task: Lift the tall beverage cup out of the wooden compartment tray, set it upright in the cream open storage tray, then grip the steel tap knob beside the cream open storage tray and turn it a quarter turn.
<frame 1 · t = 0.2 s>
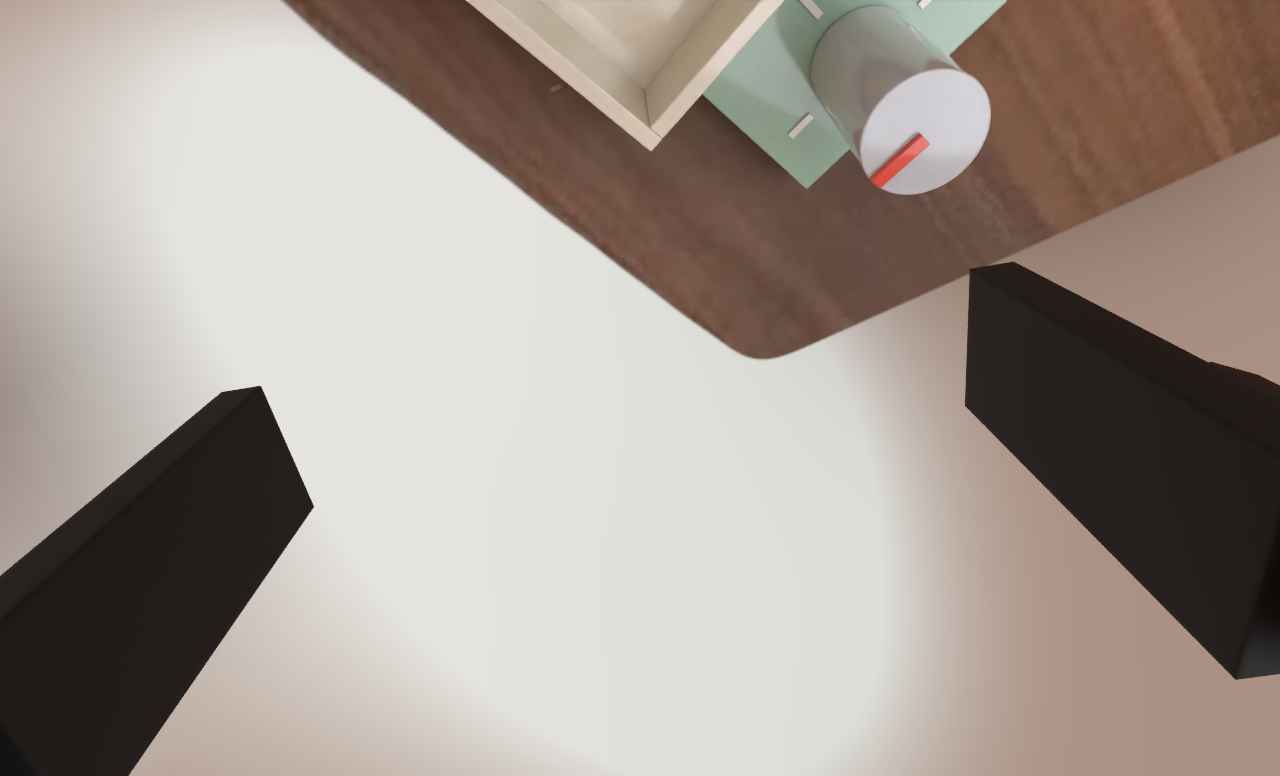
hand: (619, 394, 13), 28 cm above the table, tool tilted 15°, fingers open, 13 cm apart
green dial base plate: (836, 32, 35), on the table
tap knob: (891, 97, 30), point 7 cm above the table, hinge at 0.0°
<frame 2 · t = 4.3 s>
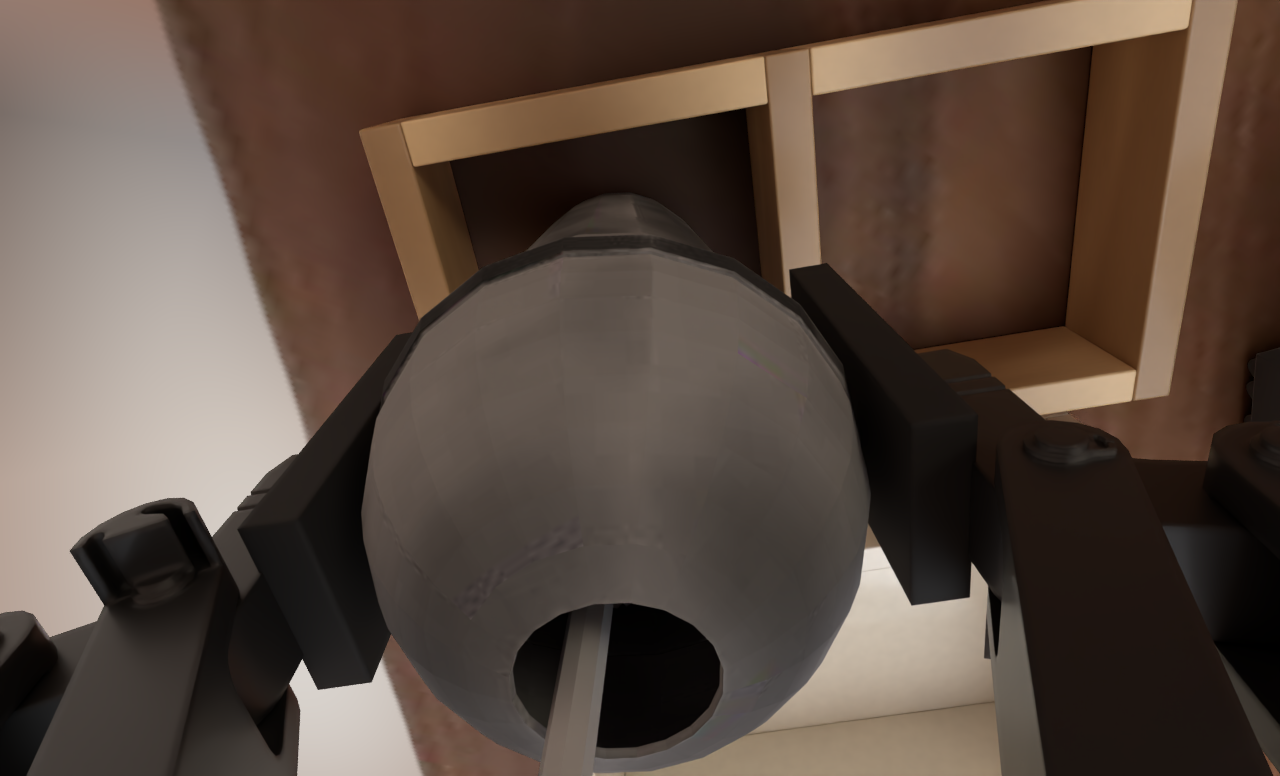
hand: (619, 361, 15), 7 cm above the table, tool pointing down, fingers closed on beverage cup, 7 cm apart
beverage cup: (620, 267, 21), resting in wooden compartment tray, touching gripper
wooden compartment tray: (775, 243, 21), on the table
cream open storage tray: (805, 597, 27), on the table
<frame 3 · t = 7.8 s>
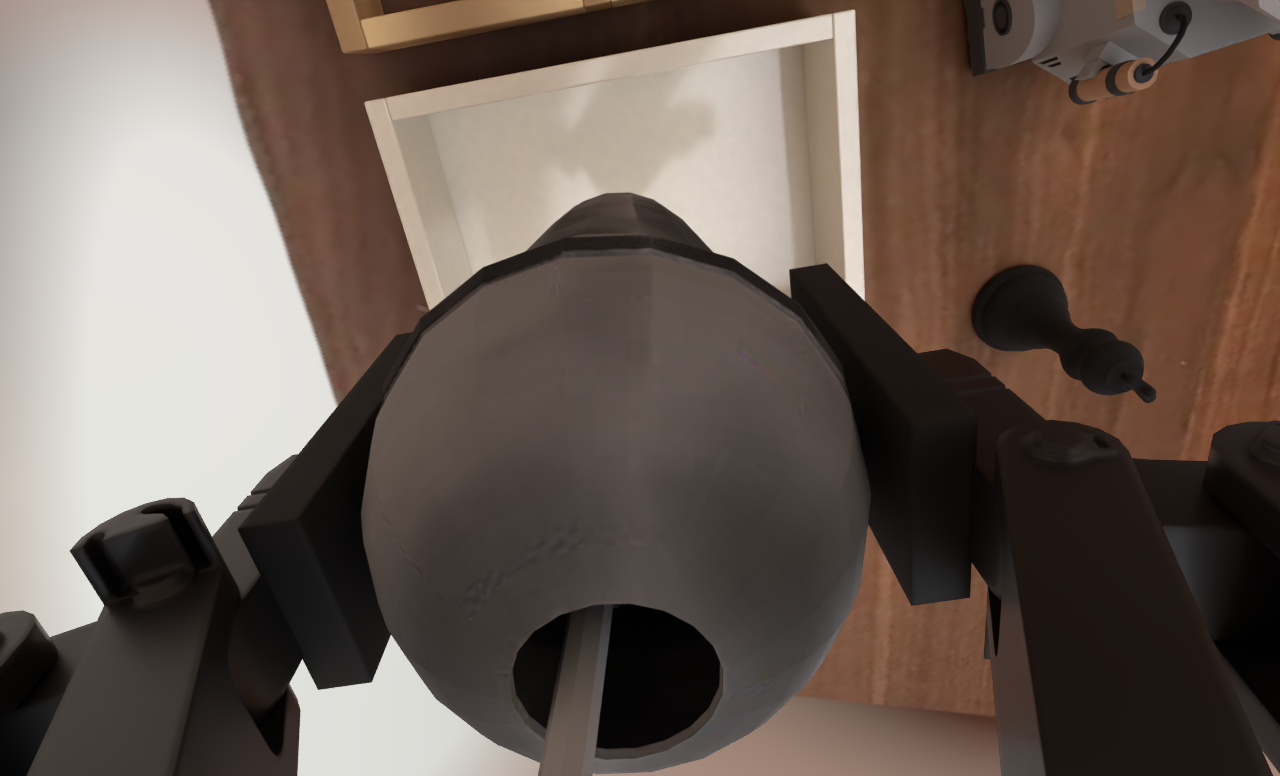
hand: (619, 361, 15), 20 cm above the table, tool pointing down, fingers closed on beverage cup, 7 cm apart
chess piece: (1014, 306, 35), on the table
beverage cup: (620, 267, 21), point 12 cm above the table, touching gripper
cream open storage tray: (635, 215, 33), on the table
when the fingers open (8 cm above the table, at t = 11.3 s): beverage cup stays where it is, resting on cream open storage tray.
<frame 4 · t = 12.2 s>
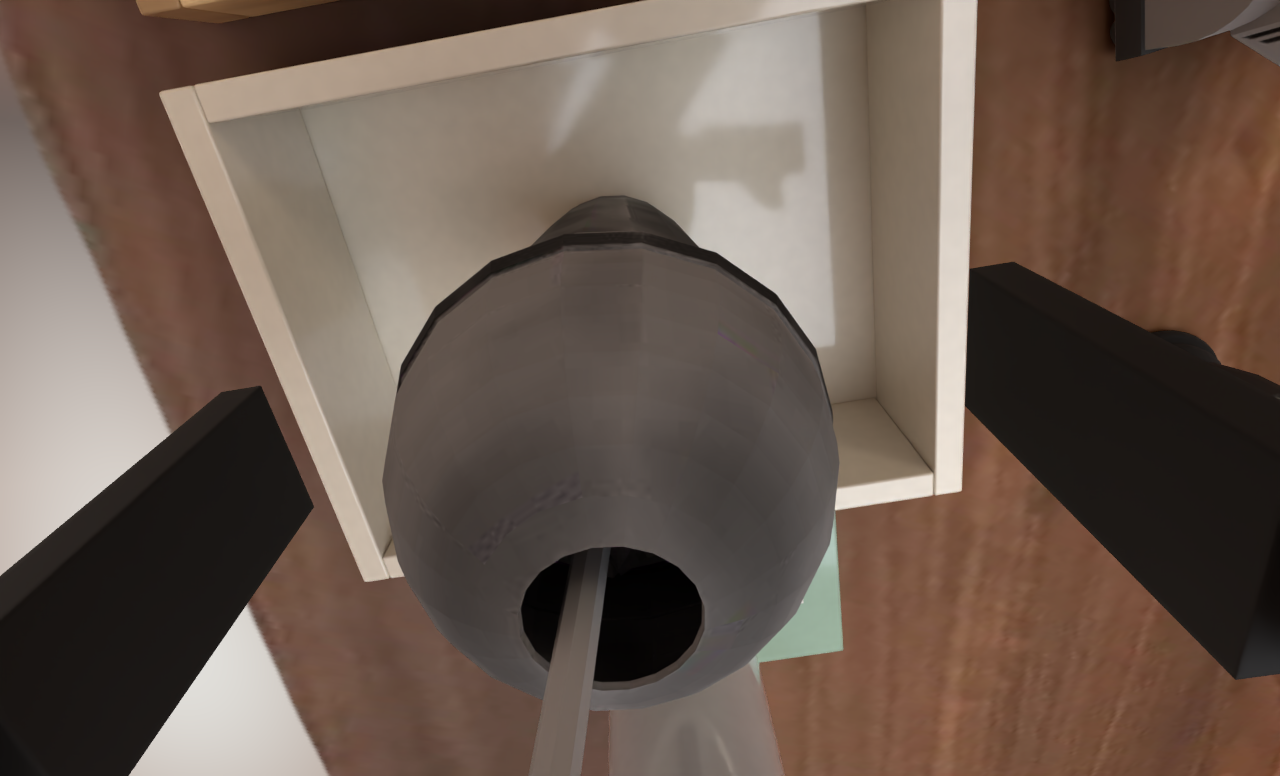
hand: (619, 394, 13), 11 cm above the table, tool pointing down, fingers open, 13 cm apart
green dial base plate: (669, 550, 28), on the table
chess piece: (1144, 384, 25), on the table
beverage cup: (616, 266, 22), point 1 cm above the table, touching cream open storage tray
tap knob: (688, 716, 22), point 7 cm above the table, hinge at 0.0°
cream open storage tray: (616, 261, 23), on the table
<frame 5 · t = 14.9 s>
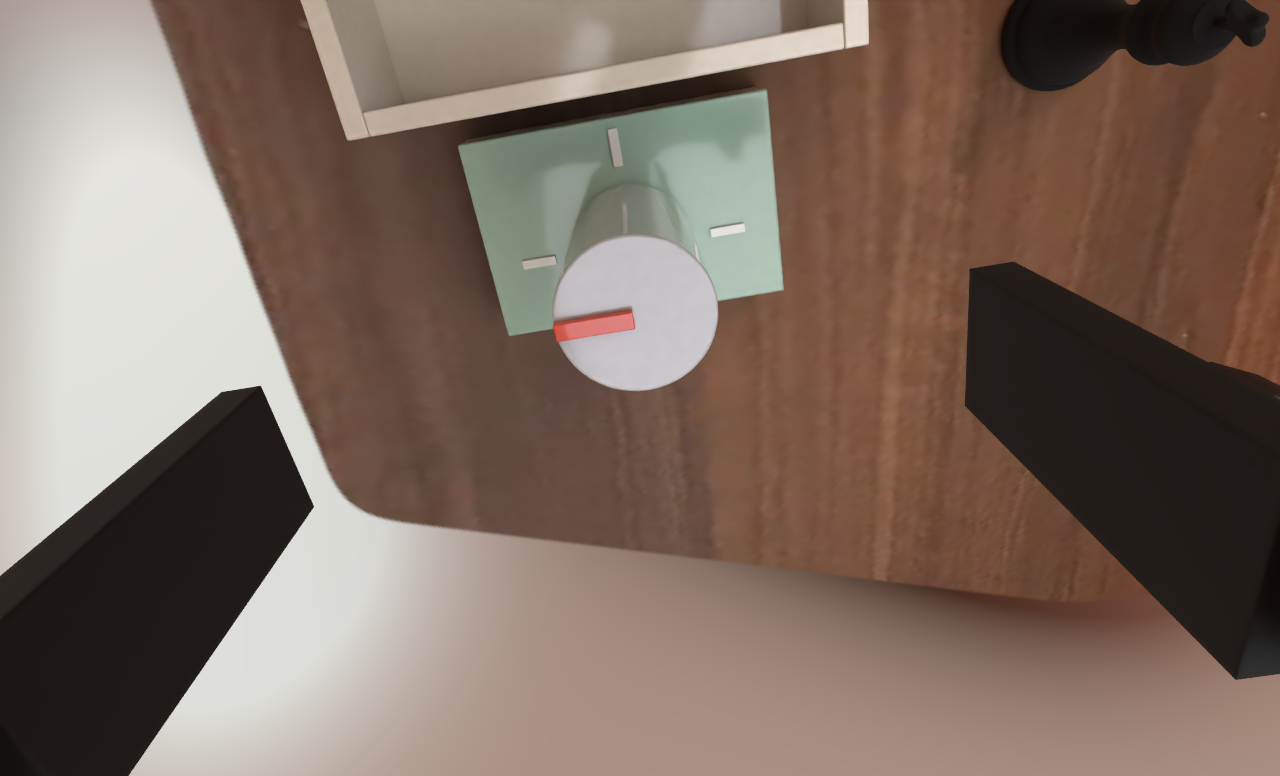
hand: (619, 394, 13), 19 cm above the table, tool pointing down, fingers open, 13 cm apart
green dial base plate: (628, 209, 31), on the table
chess piece: (1054, 30, 28), on the table
tap knob: (634, 277, 25), point 7 cm above the table, hinge at 0.0°
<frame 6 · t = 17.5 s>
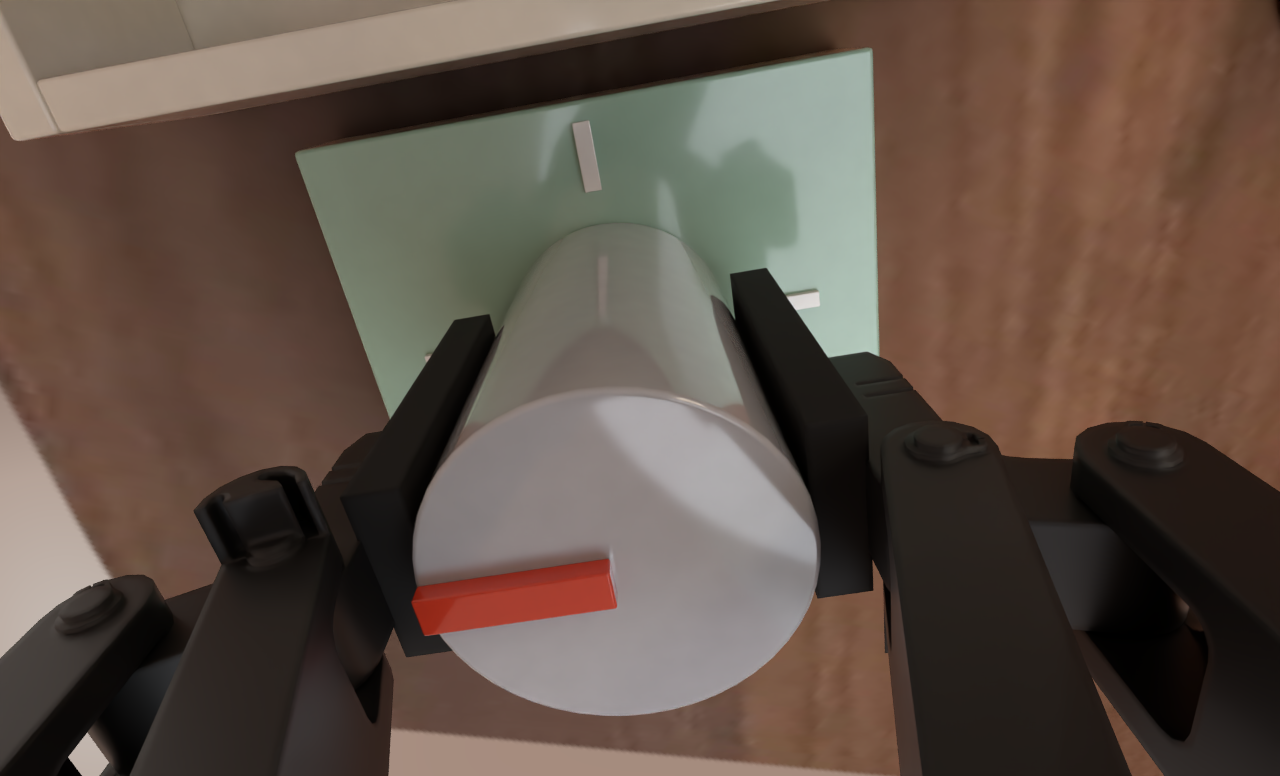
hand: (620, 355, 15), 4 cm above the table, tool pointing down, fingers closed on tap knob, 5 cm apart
green dial base plate: (613, 259, 18), on the table
tap knob: (619, 418, 12), point 7 cm above the table, hinge at 0.0°, touching gripper
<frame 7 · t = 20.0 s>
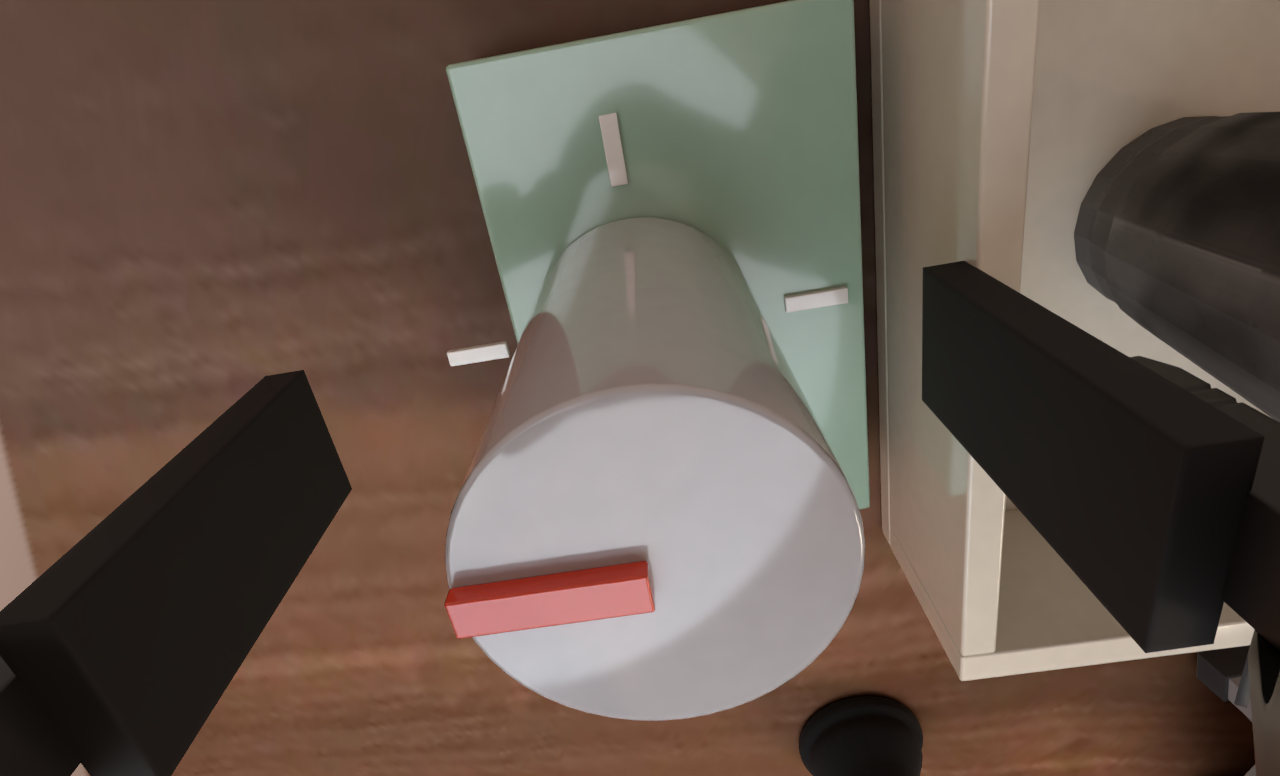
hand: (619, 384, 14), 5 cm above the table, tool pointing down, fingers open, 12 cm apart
green dial base plate: (681, 286, 18), on the table
chess piece: (856, 732, 26), on the table
beverage cup: (1164, 214, 17), point 1 cm above the table, touching cream open storage tray
tap knob: (648, 416, 12), point 7 cm above the table, hinge at 90.1°
cream open storage tray: (1148, 209, 18), on the table
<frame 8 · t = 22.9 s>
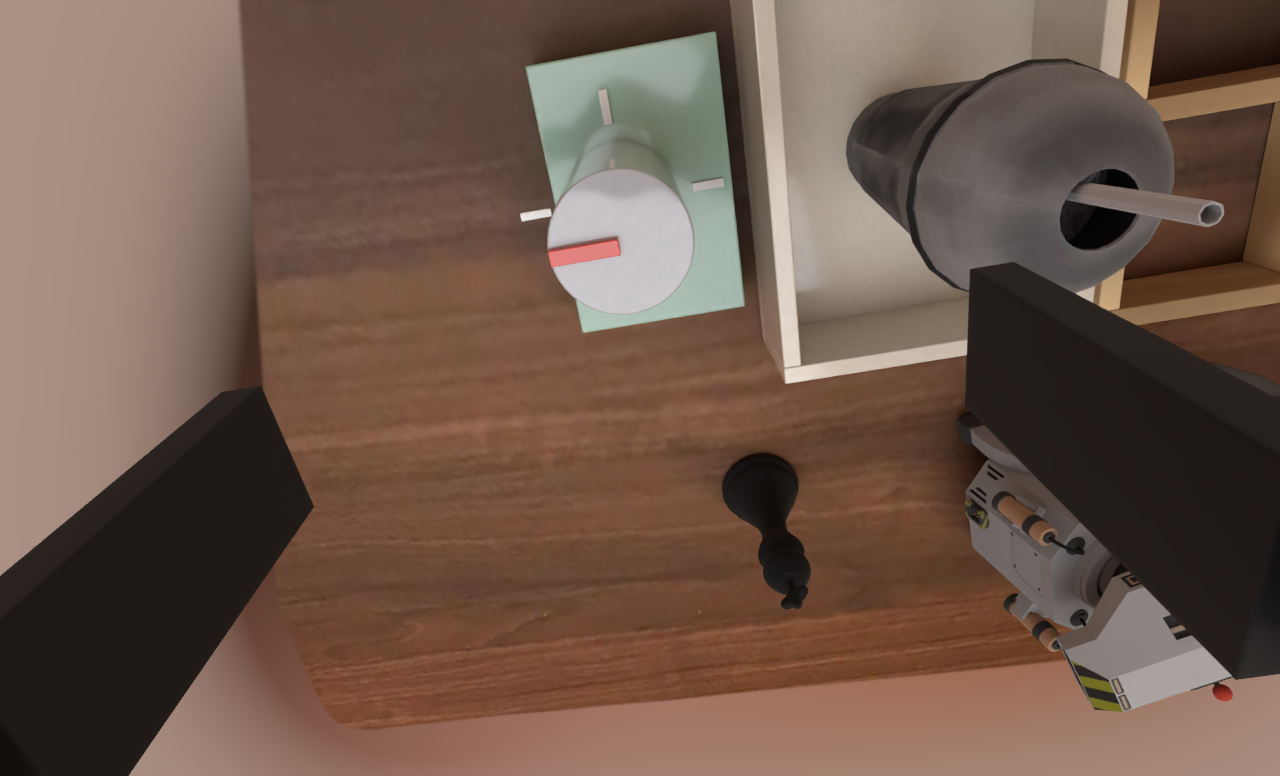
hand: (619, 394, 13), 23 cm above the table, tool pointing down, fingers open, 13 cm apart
green dial base plate: (642, 186, 34), on the table
chess piece: (758, 484, 41), on the table
beverage cup: (892, 144, 32), point 1 cm above the table, touching cream open storage tray
tap knob: (621, 220, 27), point 7 cm above the table, hinge at 90.1°
wooden compartment tray: (1186, 91, 32), on the table
cream open storage tray: (888, 143, 33), on the table
figurine: (1033, 457, 41), on the table
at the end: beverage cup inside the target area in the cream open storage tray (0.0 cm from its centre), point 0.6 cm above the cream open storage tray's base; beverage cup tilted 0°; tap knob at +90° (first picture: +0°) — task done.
